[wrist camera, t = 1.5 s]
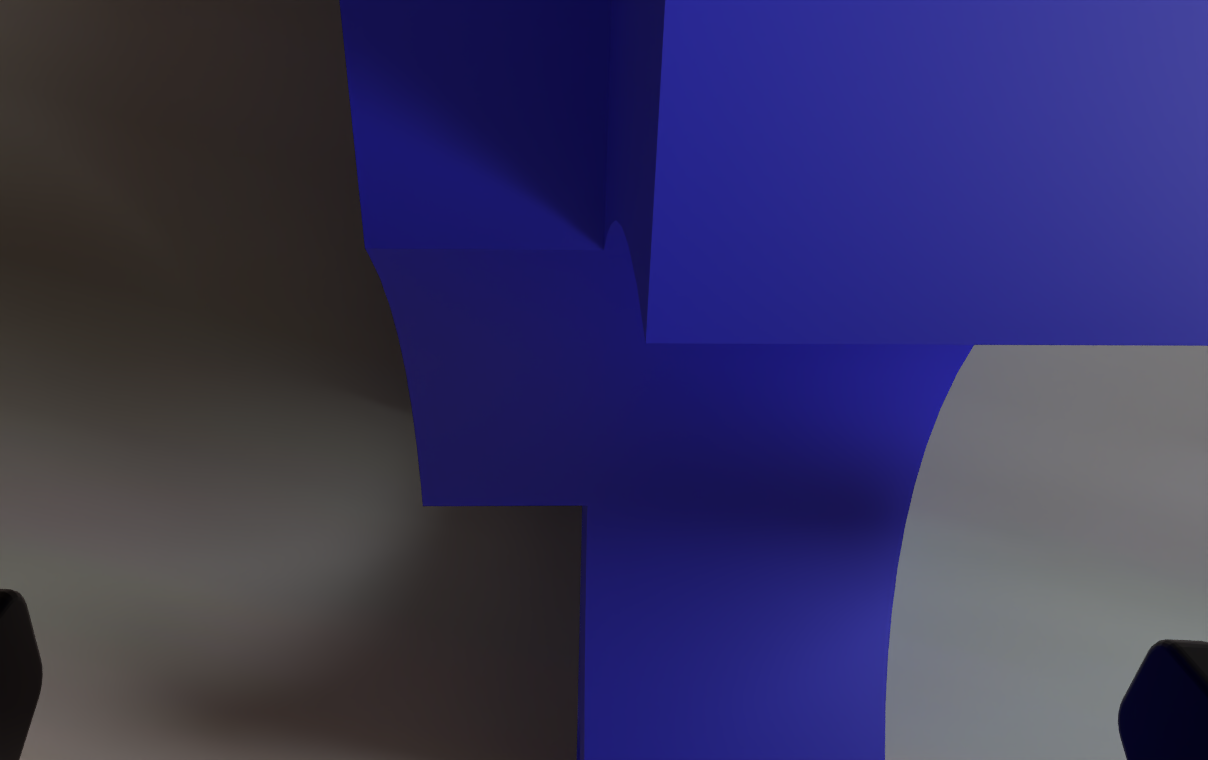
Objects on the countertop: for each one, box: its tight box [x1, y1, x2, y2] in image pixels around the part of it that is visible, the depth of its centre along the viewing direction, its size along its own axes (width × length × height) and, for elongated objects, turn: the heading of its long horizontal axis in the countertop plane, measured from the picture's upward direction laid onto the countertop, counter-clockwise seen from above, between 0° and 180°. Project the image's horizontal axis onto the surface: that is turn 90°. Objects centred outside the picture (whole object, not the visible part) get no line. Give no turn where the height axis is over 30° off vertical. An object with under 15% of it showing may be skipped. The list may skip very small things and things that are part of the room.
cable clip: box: [340, 0, 1208, 760], centre depth 9 cm, size 12×4×6 cm, turn 178°
